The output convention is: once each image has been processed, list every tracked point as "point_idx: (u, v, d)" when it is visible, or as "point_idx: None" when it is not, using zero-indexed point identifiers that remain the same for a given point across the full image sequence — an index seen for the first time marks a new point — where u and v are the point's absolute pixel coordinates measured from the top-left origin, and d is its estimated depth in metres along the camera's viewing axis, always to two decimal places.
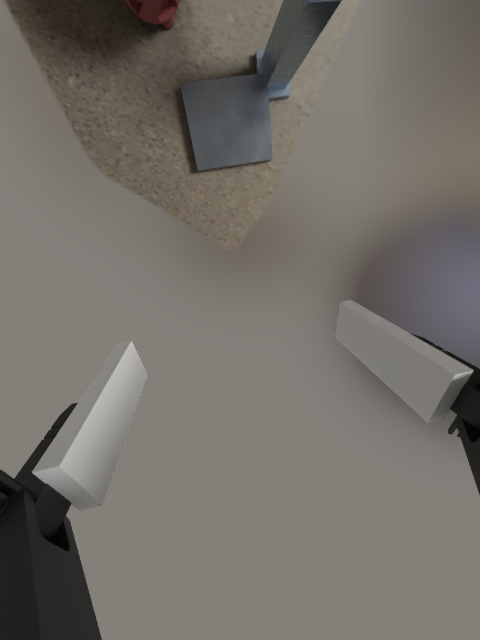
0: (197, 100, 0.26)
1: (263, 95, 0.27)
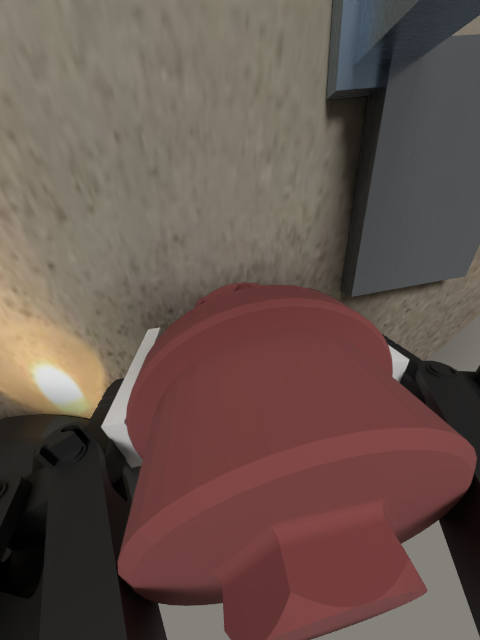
0: (379, 267, 0.13)
1: (433, 62, 0.09)
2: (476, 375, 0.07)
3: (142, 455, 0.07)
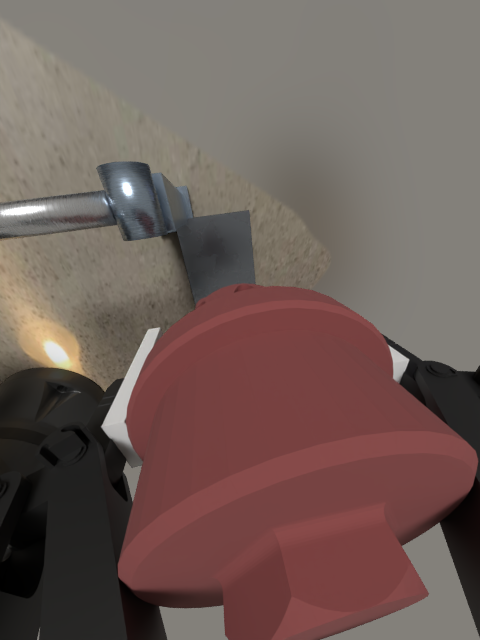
0: (205, 295, 0.28)
1: (193, 224, 0.24)
2: (476, 375, 0.07)
3: (142, 457, 0.07)
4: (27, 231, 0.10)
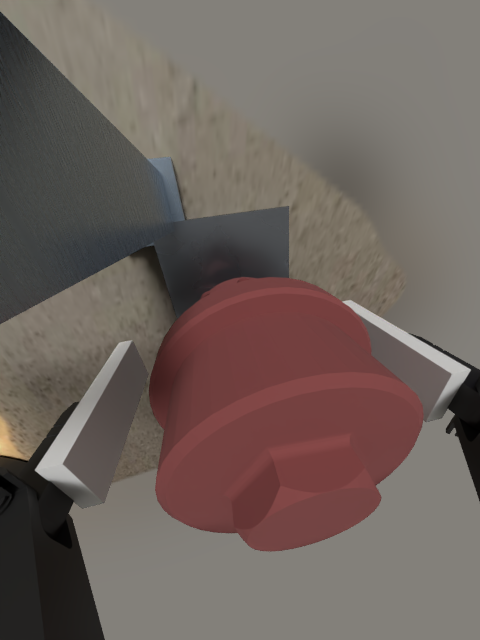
0: None
1: (185, 233, 0.13)
2: None
3: (161, 421, 0.08)
4: None
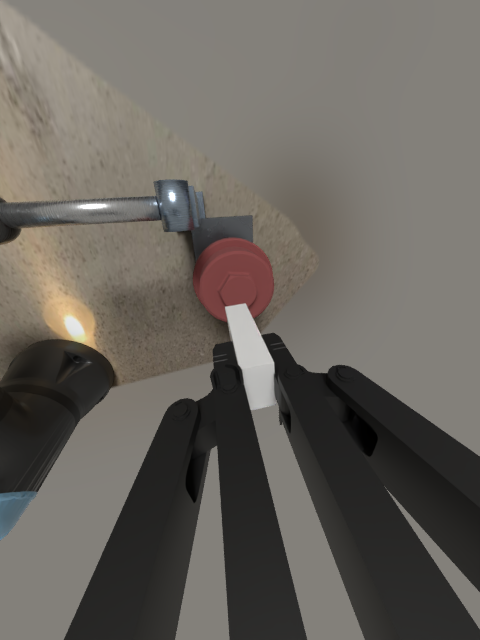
0: None
1: (205, 223, 0.28)
2: (328, 382, 0.08)
3: (195, 286, 0.24)
4: (100, 220, 0.14)
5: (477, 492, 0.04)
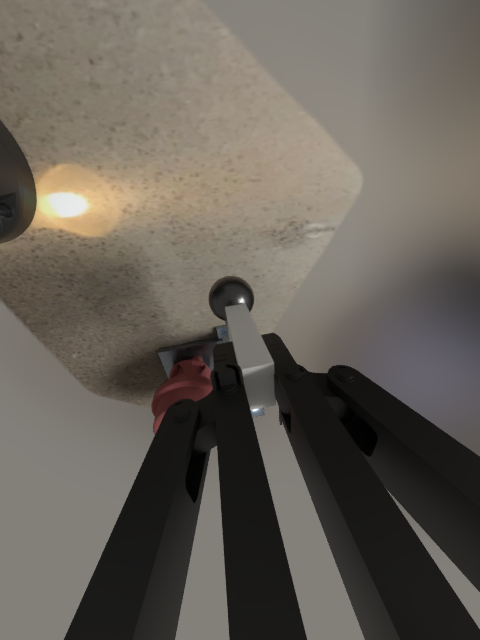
0: (171, 358, 0.34)
1: None
2: (328, 382, 0.08)
3: (178, 384, 0.26)
4: None
5: (477, 492, 0.04)
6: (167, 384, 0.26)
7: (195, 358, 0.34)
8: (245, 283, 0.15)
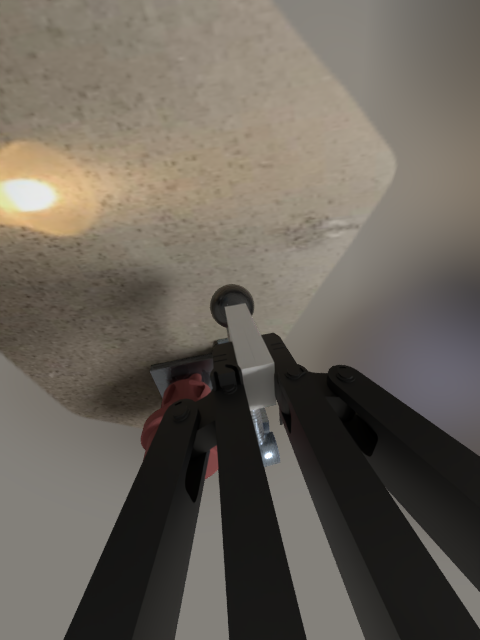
0: (165, 376, 0.29)
1: None
2: (328, 382, 0.08)
3: None
4: None
5: (477, 492, 0.04)
6: (159, 415, 0.22)
7: (193, 376, 0.29)
8: (244, 288, 0.16)
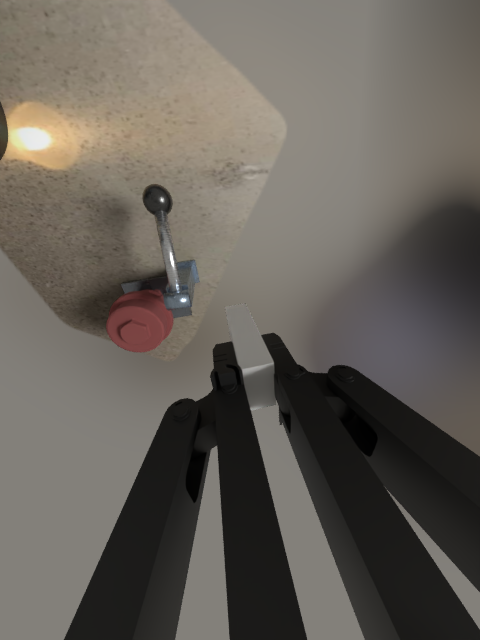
0: None
1: None
2: (327, 382, 0.08)
3: (130, 295, 0.31)
4: (164, 260, 0.26)
5: (477, 492, 0.04)
6: (121, 296, 0.31)
7: (154, 290, 0.39)
8: None
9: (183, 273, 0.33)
